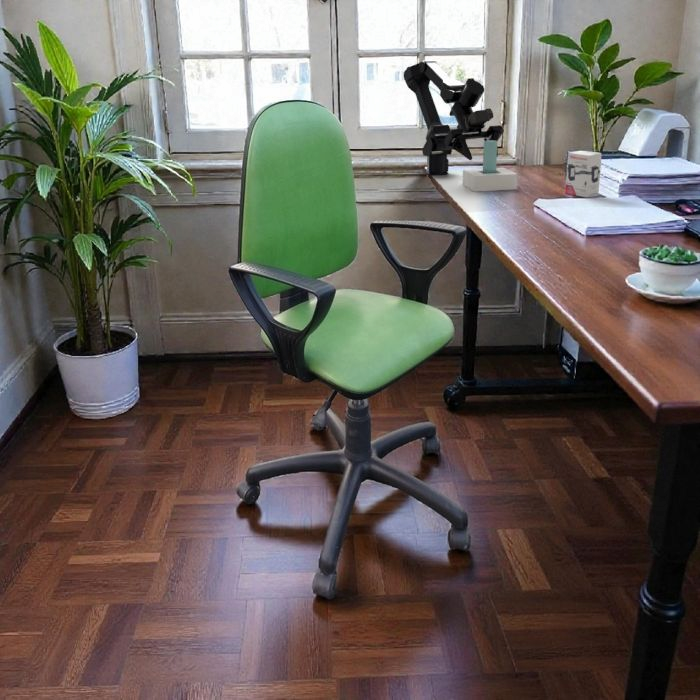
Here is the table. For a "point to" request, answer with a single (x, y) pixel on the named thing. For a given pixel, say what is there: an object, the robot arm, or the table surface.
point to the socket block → (489, 180)
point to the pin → (489, 157)
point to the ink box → (583, 173)
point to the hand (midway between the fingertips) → (484, 158)
